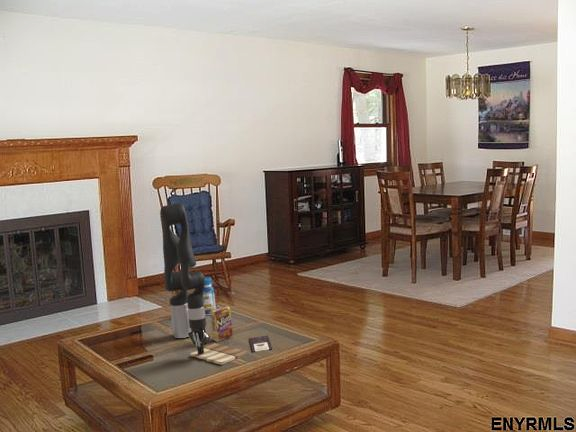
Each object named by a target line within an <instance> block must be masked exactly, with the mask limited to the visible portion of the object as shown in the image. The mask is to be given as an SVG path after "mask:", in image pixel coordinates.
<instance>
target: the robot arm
mask: <svg viewBox="0 0 576 432" xmlns="http://www.w3.org/2000/svg"><path fill="white" fill-rule="evenodd" d="M159 212H160V213H159V215H160V223H161V229H162V230H161V231H162V251H163V253H162V254H163V264H164V268H163V269H164V271H163V273H164V274H163V275H164V276H163V282H164V283H163V284H164V288H165V290H166V291H167V292H176V291H179V292H178V293H176V294H175V295H173V296H172V297H170V298H169V306H170V313H171V318H170V321H171V329H172V336H173V335H174V337H175V338H186V337H189V338H190V340H191V342H192V343H193V345H195V346H196V349H197V350H196V351H197V352H198V354H200V355H201V354H203V353H204V348H205V347H204V346H206V345H207V344H208V342H209V340H210V338H211V335H210V334H207V330H206V327H207V318H206V316H207V315H205V309H204V303H203V293H204V287H205V278H206V277H205V275H204V273H203V272H201V271H195V272H190V269H192V268H194V267H196V265H197V261H196V257H195V254H194V250H193V247H192V241H191V234H190V229H189V227H190V226H189V221H188V217H187V210H186V209H185V205H184V204H183V203H181V202H176V203H172V204H167V205H164V206H161V207H160V211H159ZM178 224H179V225H180V229H181V230H180V231H181V232H180V236H178V235H177V234H176V233H174V232H173V230H172V229H171V226H173V225H178ZM178 264H180V270H177V271H174V269H175V268H176V267H177V266H178ZM191 290H193V292H192V293H189V292H188V291H191ZM175 338H174V339H175ZM186 339H187V338H186Z"/></svg>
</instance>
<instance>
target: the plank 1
mask: <svg viewBox="0 0 576 432" xmlns="http://www.w3.org/2000/svg"><path fill="white" fill-rule="evenodd" d="M189 353H190V356H191V357H193V358H197V359H201V360H206V358H208V357H210V356H212V355H215V354H217V353H218V352H217V351H213V350H209V349H206V348H205V347H204V353H203V354H201V355H200V354H198V352H197V350H195V351H192V352H189ZM206 361H207V360H206Z"/></svg>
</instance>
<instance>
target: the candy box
mask: <svg viewBox="0 0 576 432" xmlns="http://www.w3.org/2000/svg"><path fill="white" fill-rule="evenodd" d="M231 313H232V312H231V307H229V306H227V305H226V306H222V307H219V308H216V309H214V310H211V315H210V317H211V328H212V336H213V337H212V338H213V341H215V342H216V343H218V342H222V341H224V340H228V339H232V338H233V336H234V335H233V325H232V324H233V323H232V314H231Z"/></svg>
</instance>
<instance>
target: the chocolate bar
mask: <svg viewBox="0 0 576 432" xmlns="http://www.w3.org/2000/svg"><path fill="white" fill-rule="evenodd" d="M249 343H250V349H251V352H252V353H260V352H265V351H273V347H272V344H271V341H270V338H269V335H262V336H256V337H249Z"/></svg>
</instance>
